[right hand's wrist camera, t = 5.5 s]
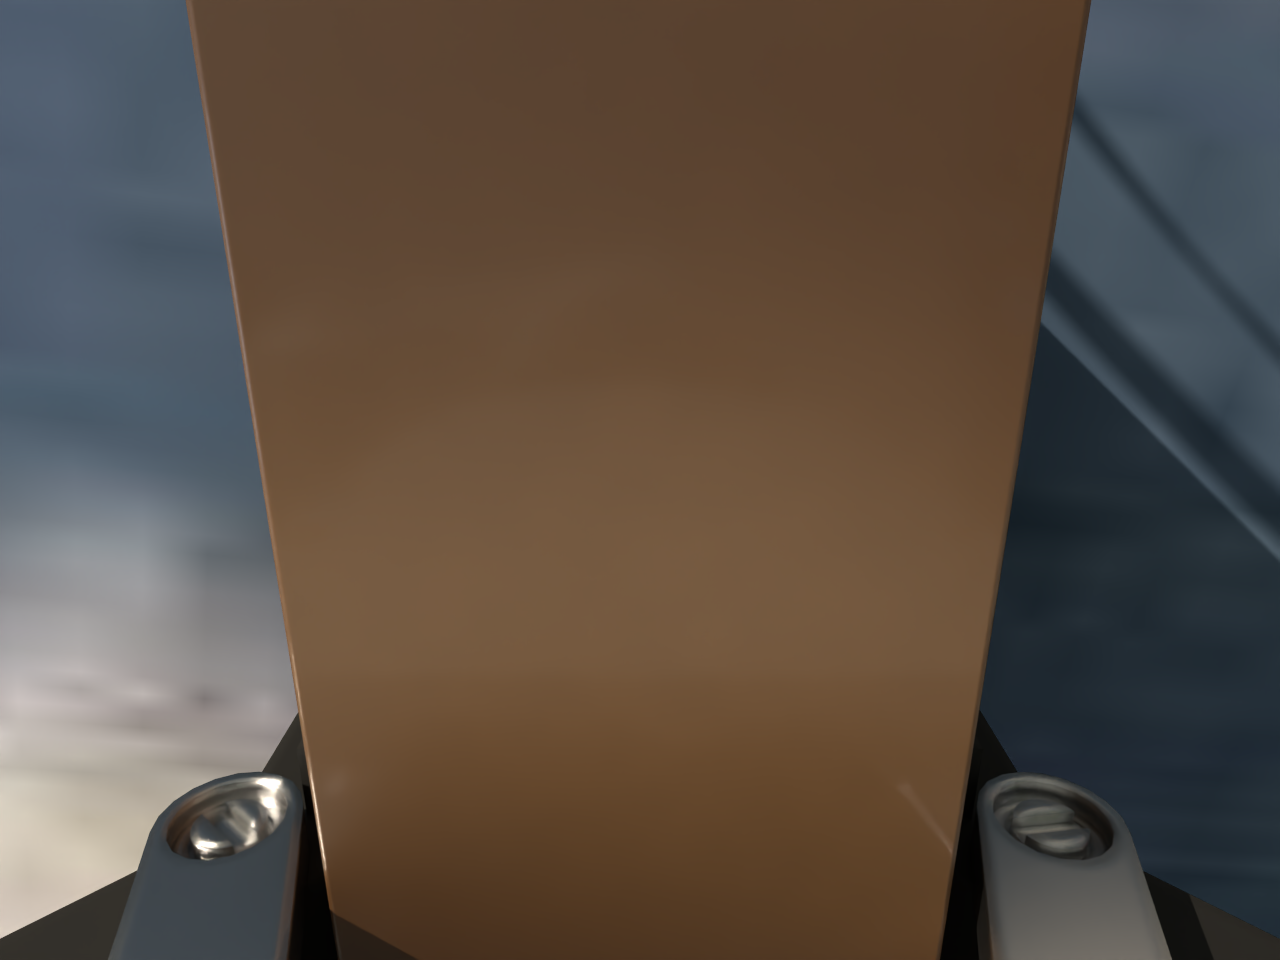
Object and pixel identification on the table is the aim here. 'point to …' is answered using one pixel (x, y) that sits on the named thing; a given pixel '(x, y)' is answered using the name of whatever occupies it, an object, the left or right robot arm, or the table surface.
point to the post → (638, 447)
